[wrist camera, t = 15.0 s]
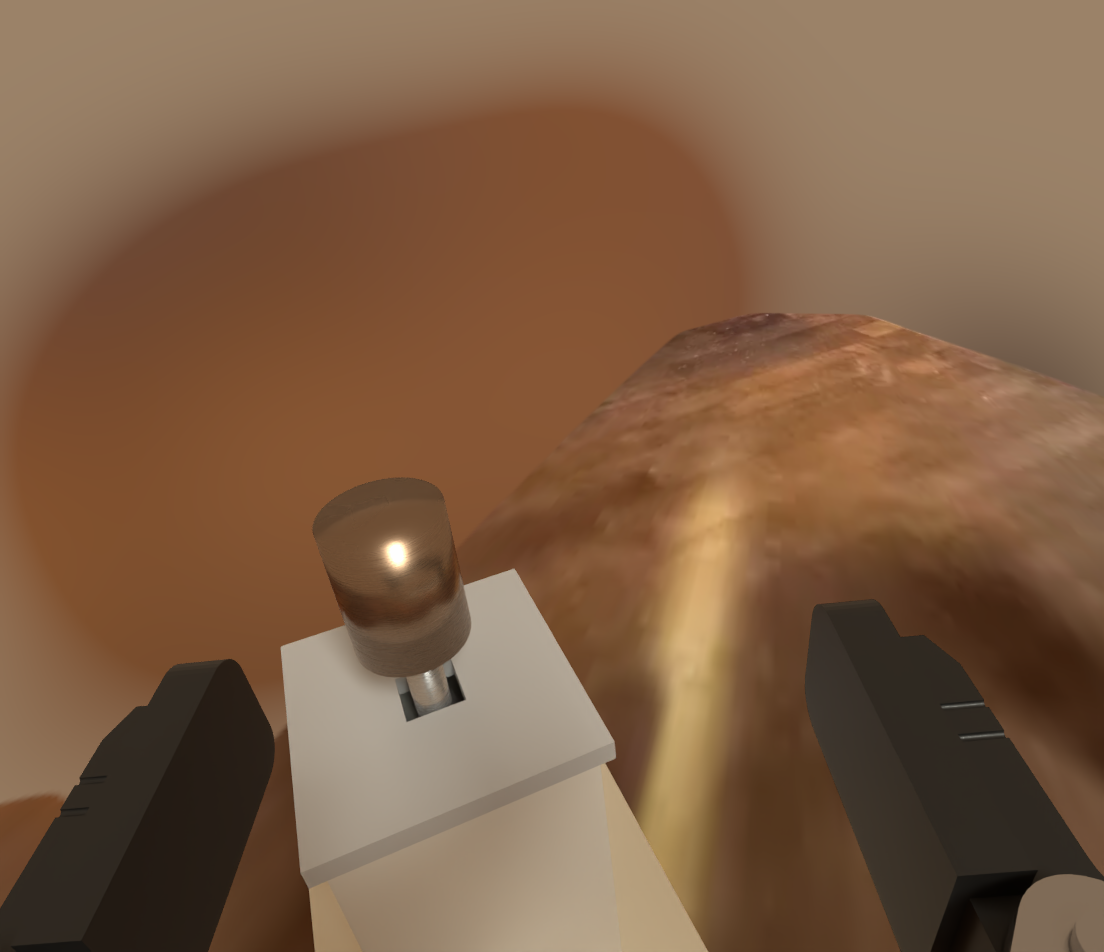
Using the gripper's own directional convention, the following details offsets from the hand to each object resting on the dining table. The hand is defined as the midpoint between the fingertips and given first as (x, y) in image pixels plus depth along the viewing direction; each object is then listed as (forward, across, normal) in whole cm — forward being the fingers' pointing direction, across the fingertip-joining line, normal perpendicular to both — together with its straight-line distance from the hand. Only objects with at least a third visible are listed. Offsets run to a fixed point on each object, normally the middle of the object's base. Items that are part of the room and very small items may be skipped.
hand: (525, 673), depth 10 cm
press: (+14, +7, +36) cm, 39 cm away
